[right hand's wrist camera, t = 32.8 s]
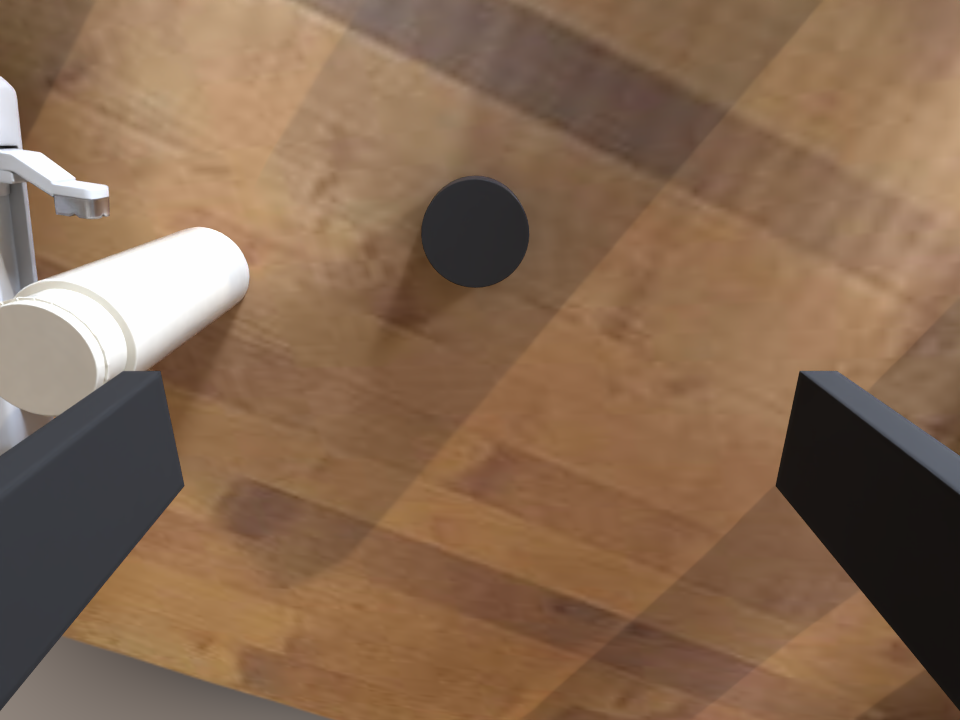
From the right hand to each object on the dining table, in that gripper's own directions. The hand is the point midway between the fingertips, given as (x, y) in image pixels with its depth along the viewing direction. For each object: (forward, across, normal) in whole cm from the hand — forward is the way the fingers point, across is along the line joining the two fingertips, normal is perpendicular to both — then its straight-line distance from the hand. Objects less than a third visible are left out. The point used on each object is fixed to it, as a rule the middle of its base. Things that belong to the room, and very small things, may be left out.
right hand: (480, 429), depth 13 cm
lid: (+24, 0, 0) cm, 24 cm away
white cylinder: (+26, +17, +2) cm, 31 cm away
